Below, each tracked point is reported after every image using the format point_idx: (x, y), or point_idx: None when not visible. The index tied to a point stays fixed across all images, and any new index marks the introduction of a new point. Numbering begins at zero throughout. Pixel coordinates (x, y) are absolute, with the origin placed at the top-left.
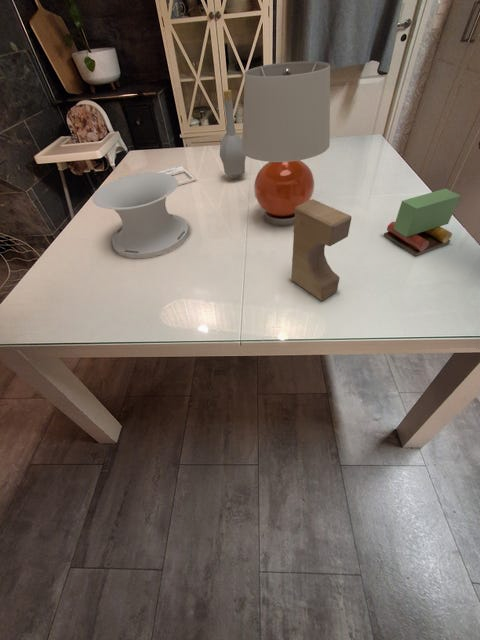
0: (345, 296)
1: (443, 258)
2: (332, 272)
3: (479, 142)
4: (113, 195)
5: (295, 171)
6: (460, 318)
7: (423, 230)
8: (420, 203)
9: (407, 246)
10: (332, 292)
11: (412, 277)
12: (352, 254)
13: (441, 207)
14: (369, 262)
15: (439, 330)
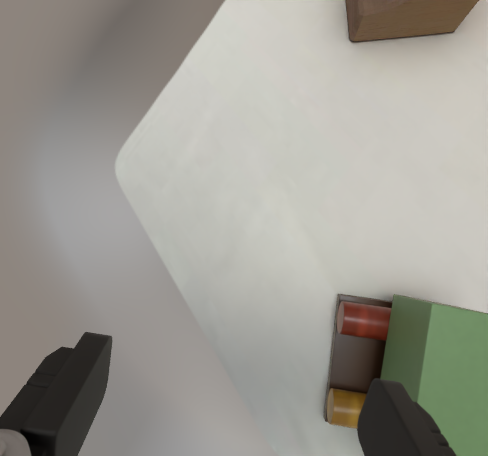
0: (327, 48)
1: (289, 342)
2: (382, 2)
3: (428, 416)
4: None
5: None
6: (145, 181)
7: (384, 357)
8: (450, 348)
9: (376, 303)
10: (349, 20)
11: (285, 216)
12: (442, 175)
13: None
14: (389, 183)
15: (150, 122)
